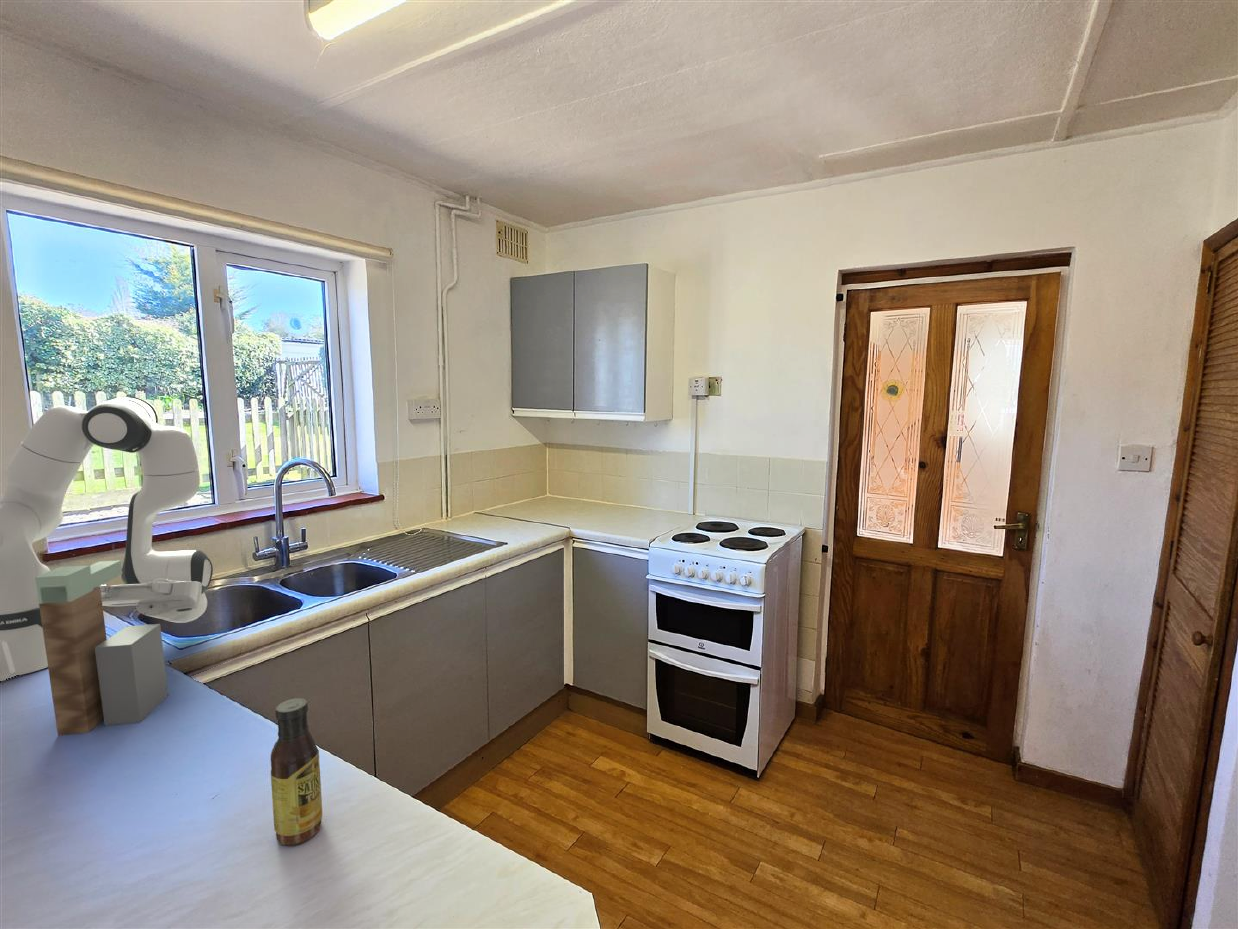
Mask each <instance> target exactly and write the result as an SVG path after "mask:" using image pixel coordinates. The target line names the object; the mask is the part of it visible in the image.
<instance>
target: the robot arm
mask: <svg viewBox="0 0 1238 929" xmlns="http://www.w3.org/2000/svg"><path fill="white" fill-rule="evenodd" d="M158 422H159V416H158V412H157V409H155V407H154V406H153V405H152V404H151V403H150V402H148V401H147V400H145V399H142V398H140V397H136V396H135V397H134V396H122V397H116V398H111V399H109V400H106V401H104V402H102V403H100V404H97V405H94V406H92V407H91V408H90V409H89V410H83V409H80V408H77V407H74V406H70V405H69V406H67V405H58V406H53V407H50V408H49V409H47V410H46V411H44V413H43V414H42V415H41V416H40V417H39V418H38V419H37V421H36V422H35V423H34V424H33V425H32V427H31V428H30V429H29V430H28V432H27V433H26V435H25V437H24V438H23V440H22V441H21V443H20V444H19V446H18V447H17V449H16V451H15V453H14V455H13V456H12V458H11V460H10V461H9V462H8V464H7V467H6V468H5V469H4V473H3V475H4V477H5V479H6V484H5V485H6V486H5V490H4V493H3V496H2V497H1V498H0V681H1V682H5V681H7V680H8V679H7V678H10V677H13V676H16V675H19V676H22V675H25V674H31V673H34V672H36V671H40V670H44V669H46V668H48V663H47V656H46V649H45V642H44V635H43V628H42V621H41V614H40V607H39V600H38V593H37V586H36V579H35V577H37V576H40V575H42V574H44V573H47V572H49V571H51V569H50V568H49V566H47V565H45V564H44V563H42V562H41V561H40V559H39V558H38V556H37V555H36V553H35V550H34V547H33V543H36V542H38V541H40V540H43V539H45V538H47V537H48V536H50V535H51V534H52V533H54V531H56V530H57V529H58V527H60V525H61V524H62V523H63V519H64V513H63V510H62V507H63V505H64V504H63V503H64V500H65V497H66V493H67V491H68V489H69V486H70V485H71V483H72V482H73V479H74V477H75V476H76V475H77V472H78V471H79V469H80V467H81V466H82V464H83V463H84V461H85V458H86V457H87V455H88V453H89V451H90V450H92V448H93V446H94V445H95V446H98V447H99V448H104V449H109V450H114V451H121V452H126V453H130V454H133V453H137V454H138V456H139V457H140V461H141V465H142V466H141V468H142V475H143V478H142V480H143V481H142V485H141V487H140V490H138V491H137V492H135V493H134V494H132V497H131V498H130V502H129V507H128V513H127V524H126V539H125V554H124V558H123V563H122V565H121V566H122V575H120V576H121V581H122V582H123V584H114V585H113V584H112V585H108V584H102V585H100V586H98V587H100V591H101V599H102V606H103V607H128V606H130V607H131V606H135V608H136V609H137V611H138V612H139V613H140V614H142V615H144V616H147V617H152V618H156V619H161V620H164V621H168V622H172V623H179V624H180V623H181V624H183V623H185V624H186V623H189V622H190V623H191V622H192V621H195V620H197V619H199V617H201V616H202V615H203V614H204V613H205V612H206V610H207V607H208V599H207V596H206V593H205V592H206V591H207V589H208V587H209V586H210V584H211V581H212V578H213V572H214V570H213V569H214V568H213V563H212V561H211V560H210V558H209V557H208V555H207V554H206V553H205V552H204V551H202V550H200V549H190V550H189V549H185V550H183V549H182V550H181V549H180V550H170V551H169V550H168V551H166V550H165V551H157V550H155V549H154V548H153V546H152V542H153V530H154V529H153V527H154V520H155V518H156V516H157V515H159V513H161V512H164V511H167V510H170V509H173V508H176V507H177V506H178V507H179V506H180V505H183V504H185V503H186V502H188V501H190V500H191V499H192V498H193V497H194V496H195V495H196V494H197V493H198V491H199V489H200V486H201V485H200V483H201V478H200V470H199V464H198V462H199V461H198V457H197V452H196V449H195V445H194V443H193V439H192V437H191V435H190V434H189V432H187V430H185V429H183V428H180V427H178V426H172V425H171V426H170V425H165V426H163V425H159V424H158ZM16 677H17V676H16ZM13 678H14V677H13ZM6 679H7V680H6ZM10 679H11V678H10Z"/></svg>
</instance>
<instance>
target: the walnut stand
mask: <svg viewBox="0 0 1238 929" xmlns="http://www.w3.org/2000/svg"><path fill="white" fill-rule="evenodd" d="M39 607H40V614H41V621H42V628H43V635H44V642H45V649H46V656H47V663H48V667H47V668H48V676H49V677H48V678H49V682H50V683H49V684H50V690H51V695H52V703H53V711H54V717H55V724H56V730H57V731H56V732H57V736H67V735H78V734H88V733H90V732H91V731H92V730H94V729H95V728H96V727H97V726H98V725H99V724H100V723H102V722H103V721H104V715H103V707H102V700H101V692H100V685H99V677H98V669H97V662H96V654H95V647H96V646H98V645H99V644H101V643H102V642H104V641H105V640H107V639H108V637H107V630H106V623H105V615H104V608H103V607H104V606H102V599H101V591H100V587H96V588H94V589H93V591H91V592H89V593H87V594H85V595H83V596H81V597H79V598H77V599H75V600H73V601H71V602H57V603H42V604H39Z"/></svg>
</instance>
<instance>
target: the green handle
mask: <svg viewBox="0 0 1238 929" xmlns="http://www.w3.org/2000/svg"><path fill="white" fill-rule="evenodd" d="M122 566H123V565H122V560H102V561H97V562H94V563H93V564H92V563H91V565H76V566H74V565H73V566H59V567H57V568H54V569H51V570H50V571H49V572H47V573H44V574H42V575H40V576H37V577H35V579H36V586H37V593H38V600H39V604H42V603H57V602H71V601H73V600H75V599H77V598H79V597H81V596H83V595H85V594H87V593H89V592H91V591H93V589H94V588H96V587H98V586H100V585H105V584H106V583H108V582H110V581H112V580H114V579H116V578H118V577H120V576H121V575H122Z"/></svg>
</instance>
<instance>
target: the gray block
mask: <svg viewBox="0 0 1238 929" xmlns="http://www.w3.org/2000/svg"><path fill="white" fill-rule="evenodd" d="M161 628H162V627H161V623H154V624H153V623H152V624H138V625H127V626H125V627H124V628H122V629H121V630H119V631H118V632H116V633H114V634H113V635H112V636H110V637H109V638H108V637H107V640H105V641H104V642H102V643H101V644H99V645H98V646H96V647H95V654H96V662H97V669H98V677H99V685H100V692H101V700H102V707H103V715H104V720H103V721H104V726H113V725H120V724H121V725H122V724H131V723H141V722H142V721H143V720H144V719H145V718H146V717H147V716H148V715H149V714H150V713H151V712H152V711H154V710H155V708H157V707H158V705H160V704H161V703H162V702H163V701H164V700H165V699H166V698H167V697H168V696H169V690H168V681H167V673H166V665H165V654H164V647H163V636H162V629H161ZM163 699H164V700H163ZM162 700H163V701H162Z"/></svg>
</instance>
